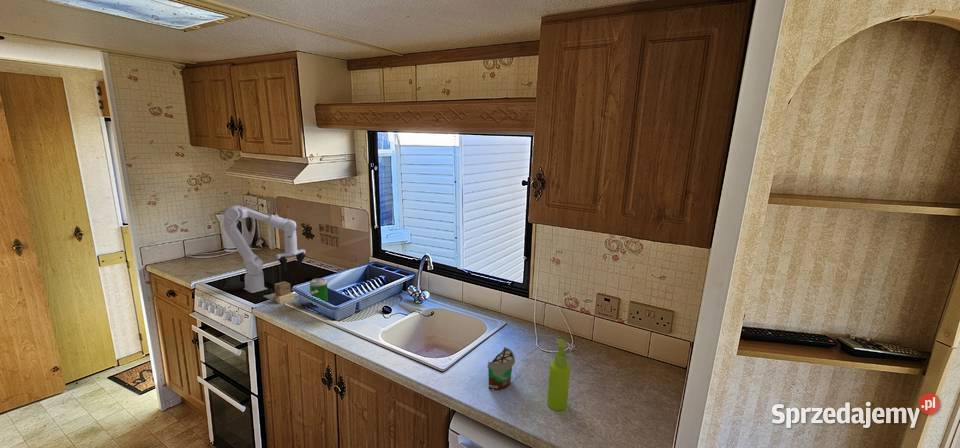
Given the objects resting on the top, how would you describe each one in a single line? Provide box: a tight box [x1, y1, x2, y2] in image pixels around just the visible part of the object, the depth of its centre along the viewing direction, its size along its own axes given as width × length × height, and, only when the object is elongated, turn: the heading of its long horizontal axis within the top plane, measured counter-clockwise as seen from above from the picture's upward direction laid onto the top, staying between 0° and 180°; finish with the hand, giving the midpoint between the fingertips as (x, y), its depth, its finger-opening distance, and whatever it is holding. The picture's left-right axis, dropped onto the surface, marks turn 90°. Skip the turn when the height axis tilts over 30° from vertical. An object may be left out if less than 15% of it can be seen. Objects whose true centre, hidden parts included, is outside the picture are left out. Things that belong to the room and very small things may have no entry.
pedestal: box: [271, 291, 295, 305], centre depth 192 cm, size 7×7×3 cm
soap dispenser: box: [546, 338, 571, 411], centre depth 121 cm, size 6×7×20 cm
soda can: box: [309, 277, 329, 302], centre depth 189 cm, size 8×8×12 cm
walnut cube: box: [274, 280, 292, 296], centre depth 191 cm, size 5×5×5 cm
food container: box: [487, 346, 516, 391], centre depth 130 cm, size 12×6×10 cm, turn 151°
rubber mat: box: [263, 292, 299, 305], centre depth 196 cm, size 15×11×1 cm
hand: (292, 269), depth 208 cm, fingers open, 7 cm apart
